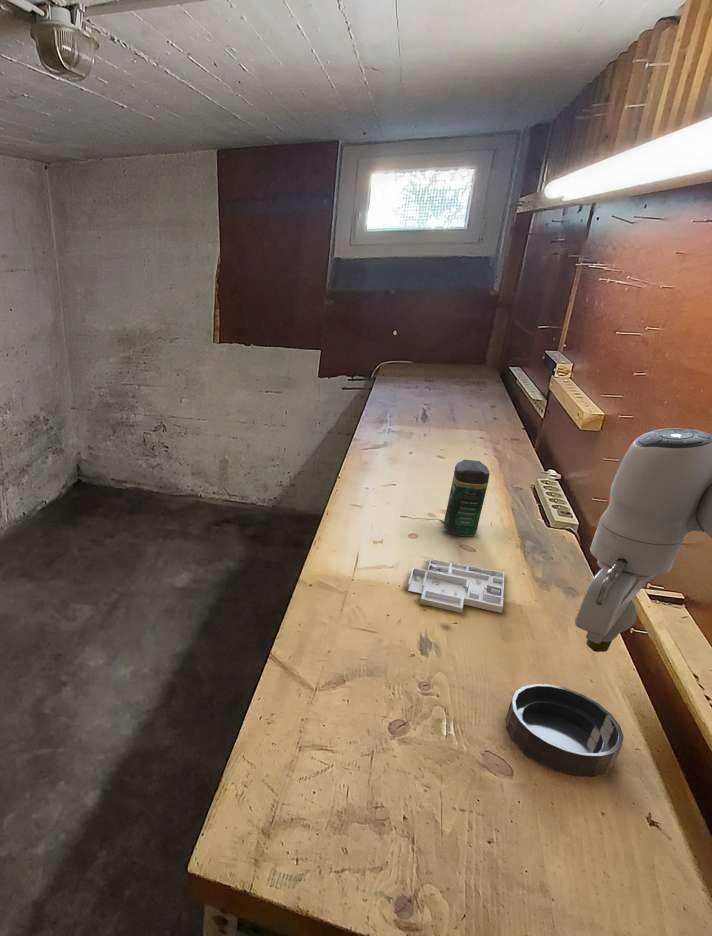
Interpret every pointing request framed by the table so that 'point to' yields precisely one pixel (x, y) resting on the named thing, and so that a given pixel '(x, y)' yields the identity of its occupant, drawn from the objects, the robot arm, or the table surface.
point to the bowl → (564, 730)
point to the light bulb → (616, 629)
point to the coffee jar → (466, 497)
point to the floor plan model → (458, 586)
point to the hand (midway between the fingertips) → (601, 630)
